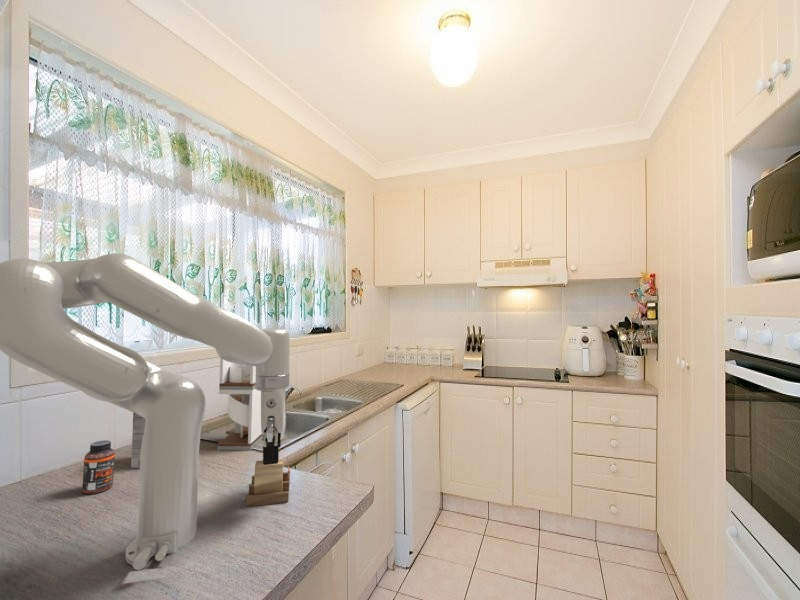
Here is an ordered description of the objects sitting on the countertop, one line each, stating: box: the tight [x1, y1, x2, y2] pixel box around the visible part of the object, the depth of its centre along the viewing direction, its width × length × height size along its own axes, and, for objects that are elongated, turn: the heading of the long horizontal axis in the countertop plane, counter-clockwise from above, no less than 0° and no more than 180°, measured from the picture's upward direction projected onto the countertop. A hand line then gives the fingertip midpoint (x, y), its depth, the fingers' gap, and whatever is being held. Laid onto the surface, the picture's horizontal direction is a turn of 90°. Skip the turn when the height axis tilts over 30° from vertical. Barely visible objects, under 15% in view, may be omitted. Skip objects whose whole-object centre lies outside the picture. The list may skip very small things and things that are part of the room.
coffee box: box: [130, 412, 145, 469], centre depth 107 cm, size 9×6×16 cm
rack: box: [245, 466, 291, 508], centre depth 87 cm, size 11×9×6 cm
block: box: [254, 458, 284, 495], centre depth 84 cm, size 3×6×8 cm, turn 105°
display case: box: [216, 356, 264, 451], centre depth 123 cm, size 11×11×35 cm
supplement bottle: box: [81, 439, 116, 495], centre depth 90 cm, size 6×6×11 cm
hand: (272, 455), depth 85 cm, fingers open, 9 cm apart
